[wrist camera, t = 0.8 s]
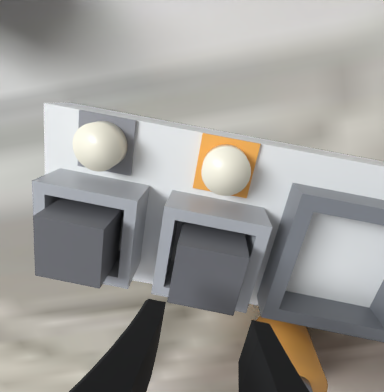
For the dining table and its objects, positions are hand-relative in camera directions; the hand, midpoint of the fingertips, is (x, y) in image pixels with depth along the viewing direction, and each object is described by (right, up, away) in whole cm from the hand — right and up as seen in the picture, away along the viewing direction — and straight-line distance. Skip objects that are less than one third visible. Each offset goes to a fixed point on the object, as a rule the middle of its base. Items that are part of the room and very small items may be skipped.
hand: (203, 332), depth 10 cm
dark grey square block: (0, +2, +5) cm, 5 cm away
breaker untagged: (-6, +3, +5) cm, 8 cm away
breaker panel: (+2, +4, +8) cm, 10 cm away
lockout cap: (+6, -6, +11) cm, 14 cm away
